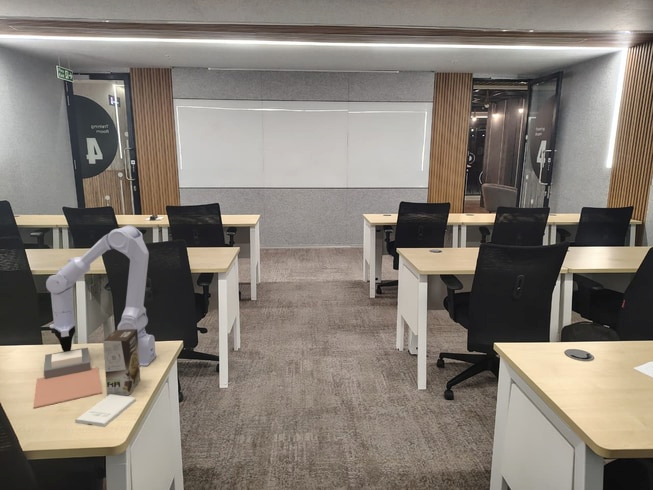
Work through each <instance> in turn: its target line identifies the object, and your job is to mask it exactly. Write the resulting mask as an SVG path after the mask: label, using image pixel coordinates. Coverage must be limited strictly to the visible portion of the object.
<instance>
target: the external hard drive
mask: <svg viewBox="0 0 653 490" xmlns="http://www.w3.org/2000/svg"><path fill="white" fill-rule="evenodd" d="M136 401H137V398H136V397H133V396H129V395H112V394H110V395H108V396H107V395H106V397H104V398H103V399H101V400H100V401H99V402H97V403H96V404H94V405H93V406H92V407H90V408H89V409H88V410H86V412H84V413H82V414H81V415H80V416H78V417H77V418H76V419H74V421H75V423H76V424H82V425H92V426H96V427H104V428H105V427H106V426H107V425H109V424H110V423H111V422H113V420H114V419H116V418H118V417H119V416H120V415H121V414H122V413H123V412H124V411H125V410H127V409H128V408H130V406H132V405H133V404H134V403H135V402H136Z"/></svg>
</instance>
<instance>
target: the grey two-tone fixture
mask: <svg viewBox="0 0 653 490" xmlns="http://www.w3.org/2000/svg"><path fill="white" fill-rule="evenodd" d="M75 350H81V351H82V363H77V364H72V365H66V366H61V367H55V368H52V364H51V358H52V354H57V353H63V351H60V352H59V351H58V352H54V353H49V354H48V353H47V354H45V355H44V365H43V366H44V367H43V375H44V376H43V377H45V379H48V378H53V377H59V376H64V375H69V374H74V373H79V372H84V371H89V370H91V368H92V367H91V360H90V359H91V358H90V352H89V347H82V348H77V349H71V351H75ZM66 352H69V351H66Z"/></svg>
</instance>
